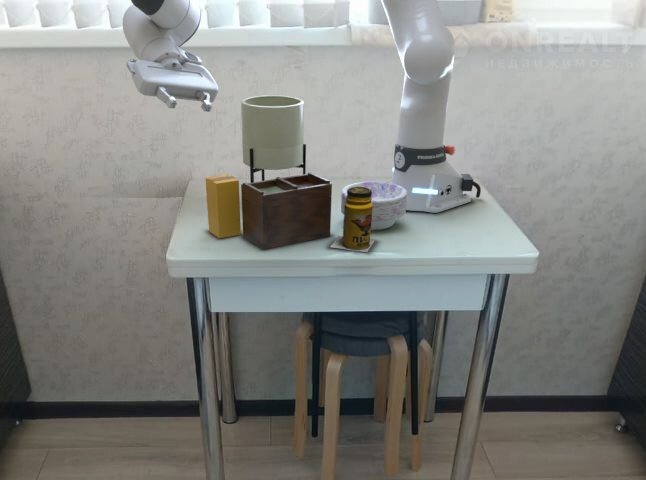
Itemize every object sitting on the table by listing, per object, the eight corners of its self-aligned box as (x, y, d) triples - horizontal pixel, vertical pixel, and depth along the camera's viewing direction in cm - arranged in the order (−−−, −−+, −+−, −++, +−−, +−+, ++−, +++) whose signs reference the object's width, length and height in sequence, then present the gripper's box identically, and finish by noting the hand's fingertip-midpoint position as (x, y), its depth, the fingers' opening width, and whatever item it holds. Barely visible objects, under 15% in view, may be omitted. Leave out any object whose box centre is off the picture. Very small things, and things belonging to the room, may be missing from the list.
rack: (307, 223, 165) (308, 171, 158) (330, 236, 159) (332, 181, 152) (242, 236, 158) (240, 181, 151) (263, 249, 151) (262, 193, 144)
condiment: (367, 252, 150) (371, 195, 143) (329, 248, 152) (331, 191, 145) (374, 241, 156) (379, 186, 149) (338, 237, 158) (340, 182, 151)
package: (230, 227, 163) (227, 173, 156) (241, 234, 159) (239, 179, 152) (208, 231, 160) (204, 177, 153) (219, 238, 157) (215, 183, 150)
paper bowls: (333, 231, 161) (335, 196, 156) (347, 211, 173) (349, 178, 168) (399, 238, 158) (402, 202, 153) (408, 217, 170) (412, 183, 165)
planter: (300, 209, 174) (301, 108, 160) (238, 205, 176) (234, 105, 162) (309, 191, 186) (311, 96, 172) (251, 188, 188) (248, 93, 174)
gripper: (127, 45, 150) (155, 90, 146) (205, 57, 163) (232, 99, 159) (119, 72, 155) (145, 116, 151) (195, 82, 168) (222, 122, 164)
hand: (191, 107), depth 155 cm, fingers open, 8 cm apart
